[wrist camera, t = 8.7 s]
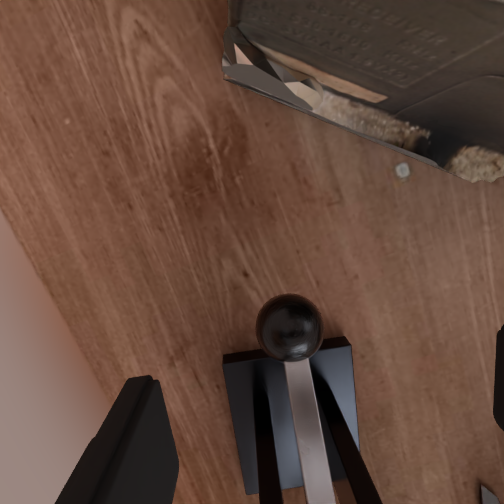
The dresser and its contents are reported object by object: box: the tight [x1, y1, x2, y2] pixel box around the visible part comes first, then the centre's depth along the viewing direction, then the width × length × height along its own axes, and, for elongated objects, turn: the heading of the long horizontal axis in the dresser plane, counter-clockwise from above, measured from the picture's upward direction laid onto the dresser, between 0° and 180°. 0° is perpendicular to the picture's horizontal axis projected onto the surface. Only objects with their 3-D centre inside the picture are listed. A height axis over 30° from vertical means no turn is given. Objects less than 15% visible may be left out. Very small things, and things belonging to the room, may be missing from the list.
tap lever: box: [255, 294, 336, 504], centre depth 13 cm, size 13×3×3 cm, turn 6°
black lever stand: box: [222, 336, 383, 504], centre depth 16 cm, size 10×8×12 cm
